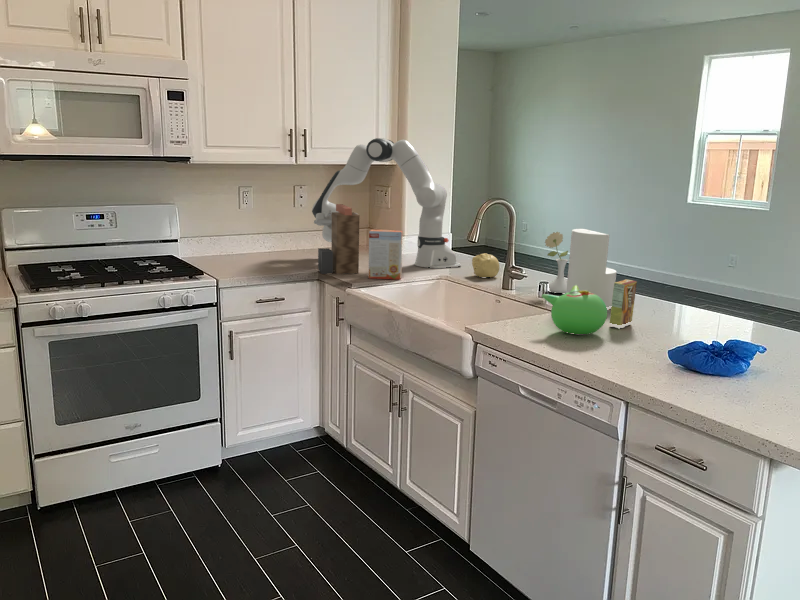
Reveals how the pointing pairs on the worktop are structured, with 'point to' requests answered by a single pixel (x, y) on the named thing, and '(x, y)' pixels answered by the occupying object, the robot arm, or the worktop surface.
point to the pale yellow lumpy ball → (485, 265)
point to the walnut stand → (345, 242)
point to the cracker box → (385, 254)
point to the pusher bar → (343, 209)
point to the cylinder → (591, 264)
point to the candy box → (623, 302)
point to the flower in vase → (559, 283)
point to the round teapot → (577, 311)
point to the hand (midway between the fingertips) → (339, 211)
